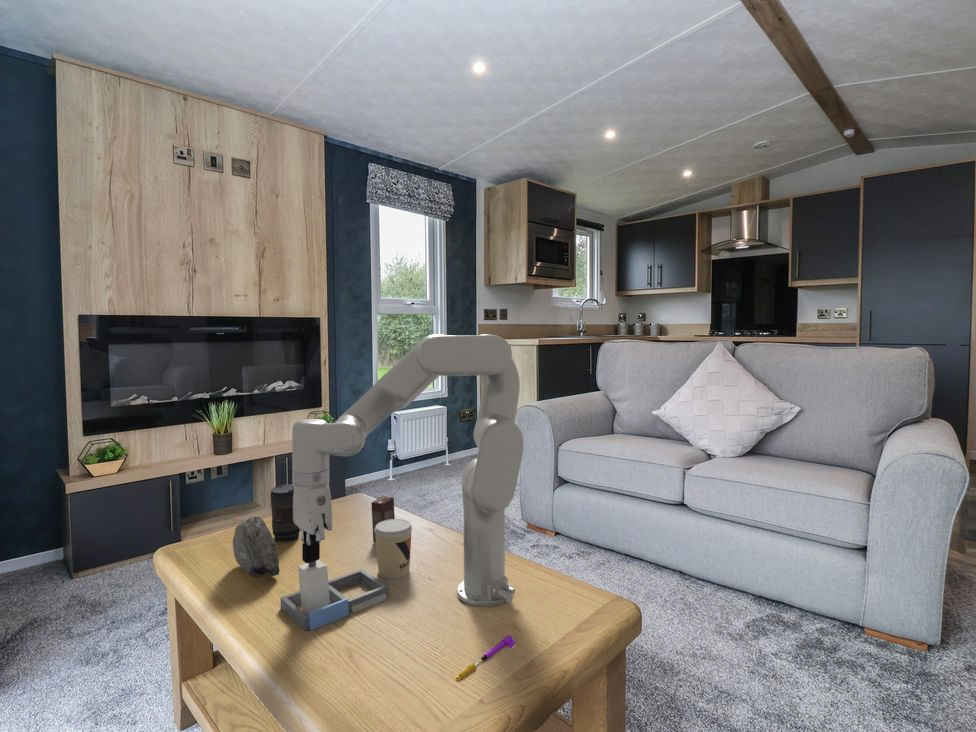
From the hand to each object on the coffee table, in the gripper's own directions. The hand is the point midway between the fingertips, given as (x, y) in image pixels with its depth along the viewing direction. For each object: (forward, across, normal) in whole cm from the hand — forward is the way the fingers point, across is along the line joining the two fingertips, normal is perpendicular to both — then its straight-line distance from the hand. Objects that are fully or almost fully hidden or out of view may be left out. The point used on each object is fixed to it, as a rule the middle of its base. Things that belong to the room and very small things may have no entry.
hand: (311, 560), depth 113 cm
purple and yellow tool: (+11, -39, -16) cm, 44 cm away
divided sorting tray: (+11, 0, -6) cm, 13 cm away
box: (+11, +22, -33) cm, 41 cm away
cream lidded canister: (+11, +4, -24) cm, 26 cm away
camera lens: (+12, +44, -13) cm, 47 cm away
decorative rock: (+12, +26, +2) cm, 29 cm away
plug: (+11, 0, -1) cm, 11 cm away
